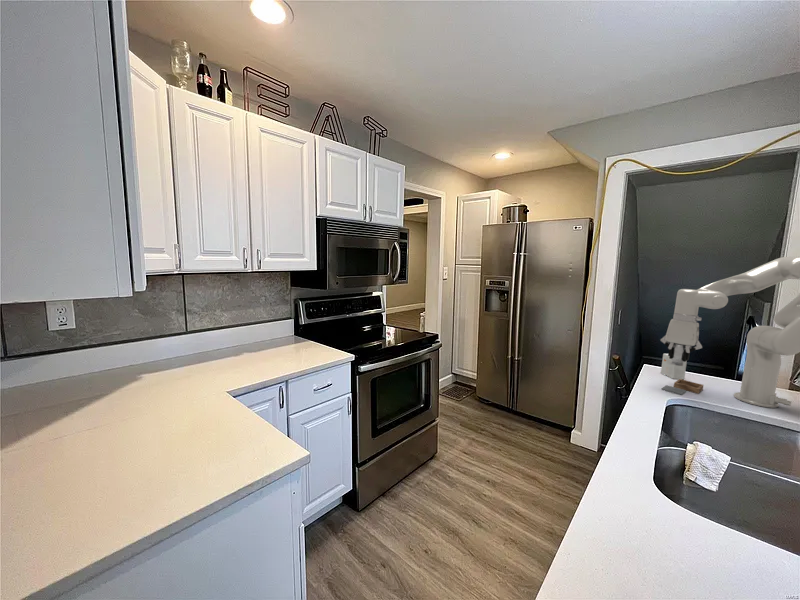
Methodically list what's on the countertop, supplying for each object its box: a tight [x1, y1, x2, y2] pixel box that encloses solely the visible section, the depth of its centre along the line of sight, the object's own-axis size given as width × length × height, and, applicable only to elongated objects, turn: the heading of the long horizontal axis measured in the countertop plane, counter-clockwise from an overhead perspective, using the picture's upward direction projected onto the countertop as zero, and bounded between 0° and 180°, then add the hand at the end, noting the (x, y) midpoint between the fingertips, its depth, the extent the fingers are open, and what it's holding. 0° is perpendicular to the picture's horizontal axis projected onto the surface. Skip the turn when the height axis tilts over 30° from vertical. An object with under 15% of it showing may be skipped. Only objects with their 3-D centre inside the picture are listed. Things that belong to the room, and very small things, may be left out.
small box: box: [660, 353, 688, 380], centre depth 162 cm, size 8×6×10 cm
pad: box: [660, 384, 687, 396], centre depth 143 cm, size 7×7×1 cm
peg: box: [671, 343, 686, 366], centre depth 141 cm, size 4×4×9 cm
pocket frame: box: [673, 379, 705, 395], centre depth 147 cm, size 8×8×2 cm
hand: (677, 359), depth 142 cm, fingers closed on peg, 4 cm apart
